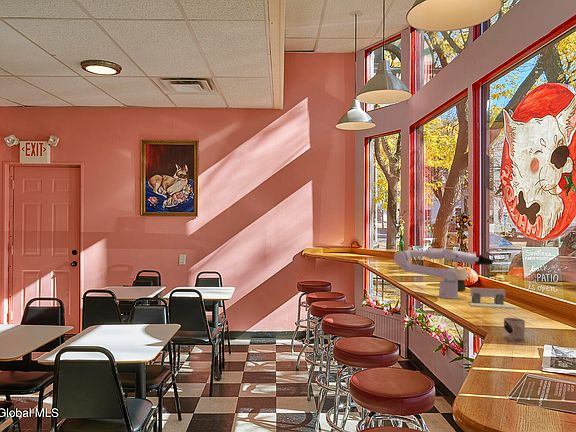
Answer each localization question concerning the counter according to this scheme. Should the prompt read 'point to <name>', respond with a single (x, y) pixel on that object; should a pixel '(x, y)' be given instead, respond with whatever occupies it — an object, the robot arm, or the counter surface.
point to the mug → (514, 329)
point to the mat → (491, 305)
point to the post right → (499, 300)
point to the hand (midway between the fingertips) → (491, 262)
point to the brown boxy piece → (476, 298)
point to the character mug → (462, 278)
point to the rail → (487, 292)
